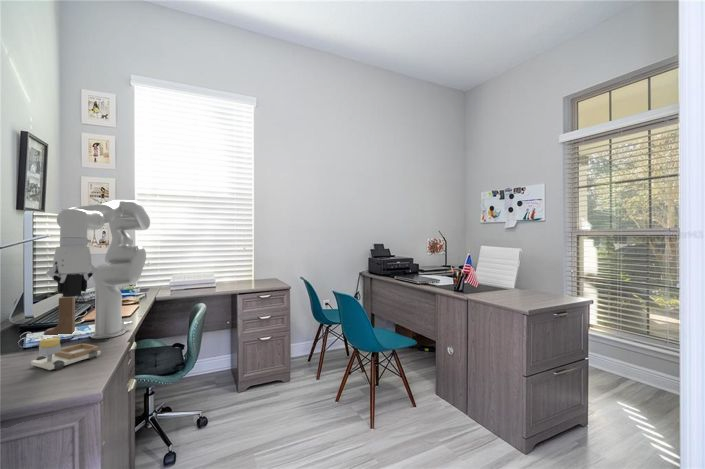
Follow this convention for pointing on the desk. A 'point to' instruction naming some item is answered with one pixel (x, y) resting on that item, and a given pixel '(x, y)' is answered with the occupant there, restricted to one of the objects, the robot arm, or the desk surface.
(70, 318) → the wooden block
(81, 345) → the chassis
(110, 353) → the desk surface
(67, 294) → the ink cartridge
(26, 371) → the desk surface
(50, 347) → the yellow white block
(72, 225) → the robot arm
